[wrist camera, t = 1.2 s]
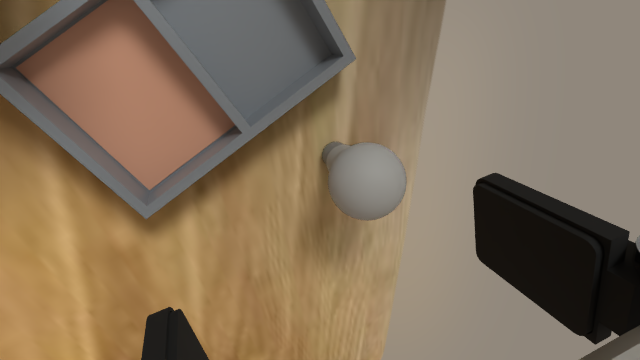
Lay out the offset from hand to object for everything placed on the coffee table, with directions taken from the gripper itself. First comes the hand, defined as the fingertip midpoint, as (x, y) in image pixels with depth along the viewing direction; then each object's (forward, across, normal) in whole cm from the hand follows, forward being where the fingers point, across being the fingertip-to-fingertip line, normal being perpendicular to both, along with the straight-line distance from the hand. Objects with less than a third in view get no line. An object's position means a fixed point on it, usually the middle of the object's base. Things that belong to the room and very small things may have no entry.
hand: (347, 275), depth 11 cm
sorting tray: (+23, +2, -6) cm, 24 cm away
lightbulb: (+24, -7, +6) cm, 25 cm away
